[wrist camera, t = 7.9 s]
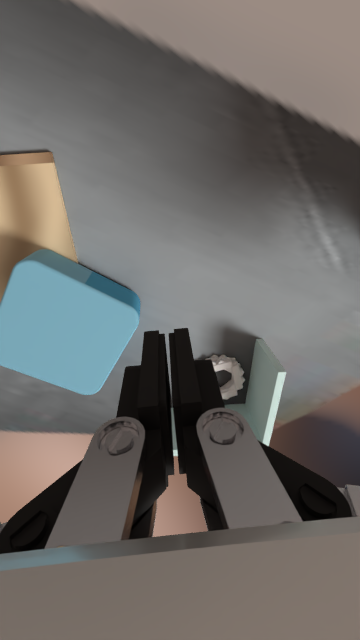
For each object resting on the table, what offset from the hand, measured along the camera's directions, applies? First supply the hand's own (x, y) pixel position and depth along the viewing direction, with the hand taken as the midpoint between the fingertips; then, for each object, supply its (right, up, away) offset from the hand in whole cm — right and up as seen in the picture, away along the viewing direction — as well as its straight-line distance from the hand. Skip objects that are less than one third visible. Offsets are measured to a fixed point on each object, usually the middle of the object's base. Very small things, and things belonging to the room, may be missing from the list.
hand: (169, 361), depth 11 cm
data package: (-8, +6, +16) cm, 19 cm away
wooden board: (-15, +8, +17) cm, 24 cm away
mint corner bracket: (+5, -6, +28) cm, 29 cm away
